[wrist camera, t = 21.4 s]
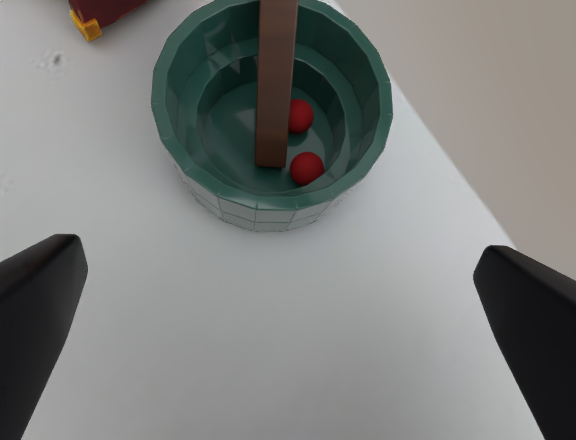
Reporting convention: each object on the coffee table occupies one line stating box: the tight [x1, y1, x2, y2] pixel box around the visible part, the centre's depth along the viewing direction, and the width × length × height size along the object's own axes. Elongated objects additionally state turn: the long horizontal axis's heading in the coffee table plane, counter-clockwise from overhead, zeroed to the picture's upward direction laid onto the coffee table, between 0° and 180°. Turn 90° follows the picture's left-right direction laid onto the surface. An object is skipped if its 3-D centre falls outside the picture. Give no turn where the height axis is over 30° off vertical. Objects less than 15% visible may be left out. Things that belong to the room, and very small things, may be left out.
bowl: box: [151, 0, 393, 231], centre depth 18 cm, size 10×10×6 cm
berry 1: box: [289, 99, 314, 134], centre depth 20 cm, size 2×2×2 cm
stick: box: [254, 0, 299, 167], centre depth 17 cm, size 2×2×12 cm
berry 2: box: [290, 152, 324, 186], centre depth 19 cm, size 2×2×2 cm
